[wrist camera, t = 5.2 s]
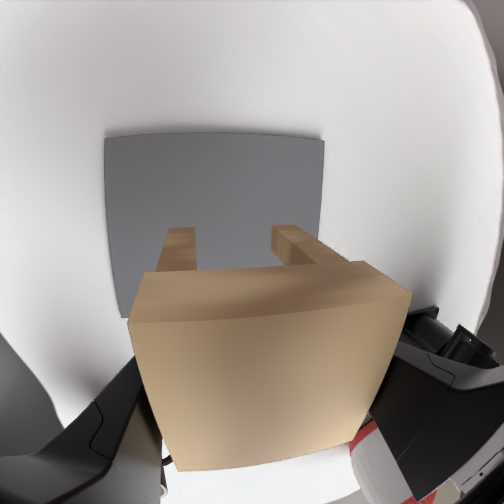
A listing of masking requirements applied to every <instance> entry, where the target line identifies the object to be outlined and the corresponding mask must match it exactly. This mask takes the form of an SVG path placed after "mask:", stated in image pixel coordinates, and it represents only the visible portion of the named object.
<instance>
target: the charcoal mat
mask: <svg viewBox="0 0 504 504" xmlns="http://www.w3.org/2000/svg"><path fill="white" fill-rule="evenodd" d="M324 144H325V141H323V140H315V139H307V138H298V137H288V136H276V135H262V134H244V133H166V134H148V135H135V136H124V137H114V138H106V139H105V144H104V178H105V202H106V217H107V229H108V238H109V247H110V255H111V263H112V270H113V276H114V282H115V288H116V294H117V299H118V304H119V309H120V314H121V318H129V315H130V312H131V309H132V306H133V303H134V301H135V298H136V295H137V292H138V289H139V287H140V284H141V281H142V278H143V276H144V273H145V272H155V270H156V267H157V264H158V260H159V257H160V254H161V251H162V248H163V245H164V242H165V238H166V235H167V232H168V229H169V228H180V227H195V238H196V259H197V270H214V269H234V268H254V267H272V266H285V265H284V264H283V263H282V262H281V261H280V259H279V258H278V257H277V256H276V255H275V254H274V252H273V251H272V250H271V231H272V225H297V226H298V227H300V228H301V229H303V230H304V231H306V232H307V233H309V234H310V235H312V236H313V237H315V238H316V239H318V231H319V220H320V208H321V196H322V182H323V165H324Z"/></svg>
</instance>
